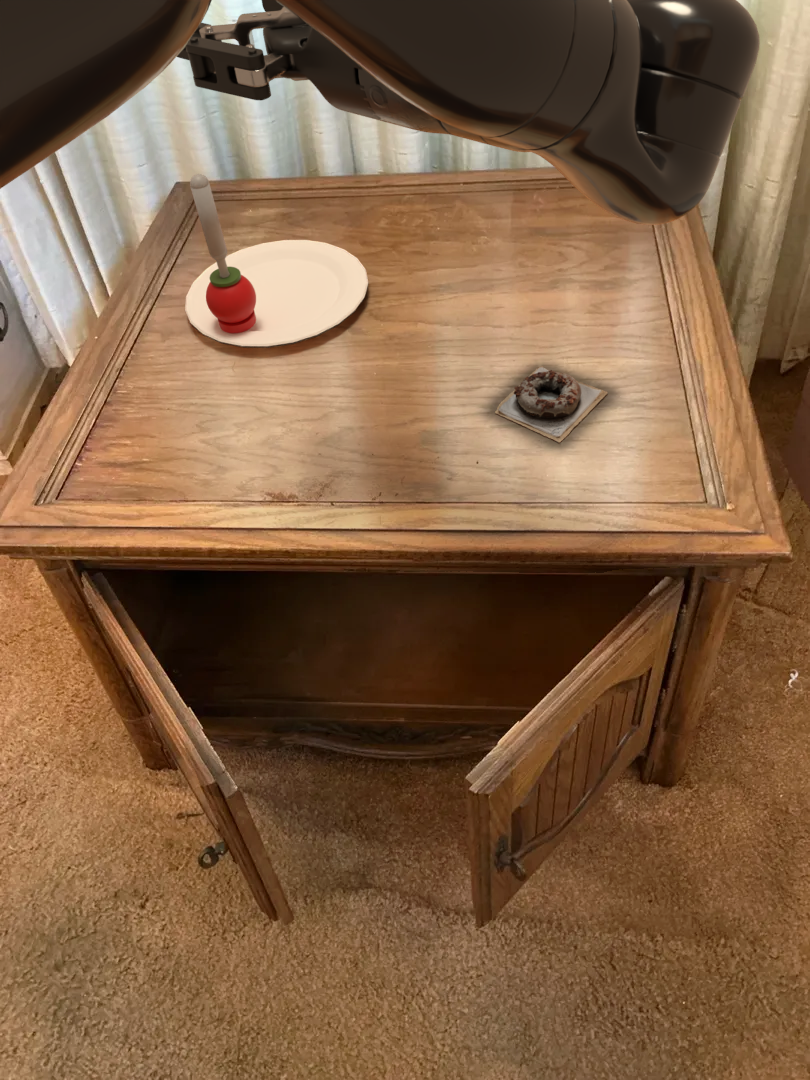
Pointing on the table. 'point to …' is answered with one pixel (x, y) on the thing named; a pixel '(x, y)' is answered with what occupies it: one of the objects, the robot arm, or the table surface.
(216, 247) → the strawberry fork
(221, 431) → the table surface
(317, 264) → the plate
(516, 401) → the donut
